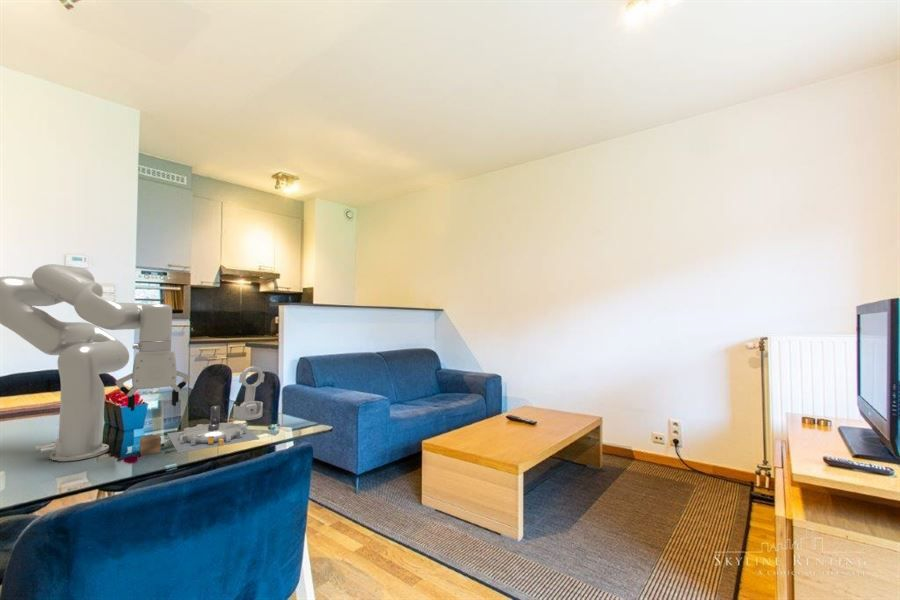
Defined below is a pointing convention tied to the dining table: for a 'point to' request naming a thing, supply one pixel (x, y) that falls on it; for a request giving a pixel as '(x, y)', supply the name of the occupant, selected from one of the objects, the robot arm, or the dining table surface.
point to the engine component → (249, 398)
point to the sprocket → (212, 430)
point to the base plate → (188, 447)
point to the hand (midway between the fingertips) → (153, 407)
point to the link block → (150, 444)
